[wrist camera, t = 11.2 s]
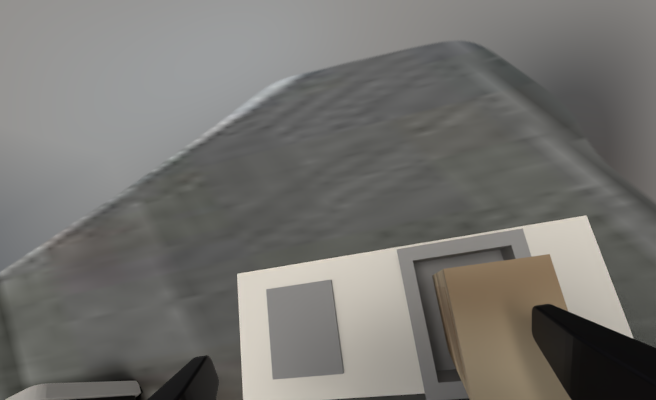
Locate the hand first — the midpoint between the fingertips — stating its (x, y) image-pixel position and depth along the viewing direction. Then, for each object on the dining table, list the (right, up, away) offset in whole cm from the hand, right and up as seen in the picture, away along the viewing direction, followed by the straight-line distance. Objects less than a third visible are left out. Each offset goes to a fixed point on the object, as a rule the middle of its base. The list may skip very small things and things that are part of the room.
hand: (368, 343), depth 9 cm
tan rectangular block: (+8, -3, +11) cm, 13 cm away
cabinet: (+4, -4, +13) cm, 14 cm away
